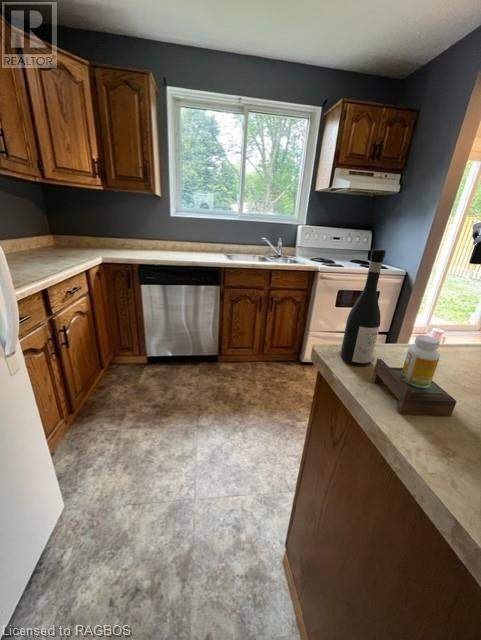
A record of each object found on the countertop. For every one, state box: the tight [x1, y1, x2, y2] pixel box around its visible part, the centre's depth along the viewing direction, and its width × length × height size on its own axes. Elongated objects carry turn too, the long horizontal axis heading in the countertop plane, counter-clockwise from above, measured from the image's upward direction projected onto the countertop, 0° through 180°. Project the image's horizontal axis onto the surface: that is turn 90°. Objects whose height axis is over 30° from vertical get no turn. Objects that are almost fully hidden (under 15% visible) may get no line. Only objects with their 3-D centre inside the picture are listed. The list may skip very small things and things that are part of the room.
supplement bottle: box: [401, 334, 441, 388], centre depth 55 cm, size 5×5×10 cm
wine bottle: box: [340, 248, 387, 367], centre depth 70 cm, size 8×8×30 cm
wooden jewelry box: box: [370, 358, 458, 418], centre depth 57 cm, size 10×12×7 cm
